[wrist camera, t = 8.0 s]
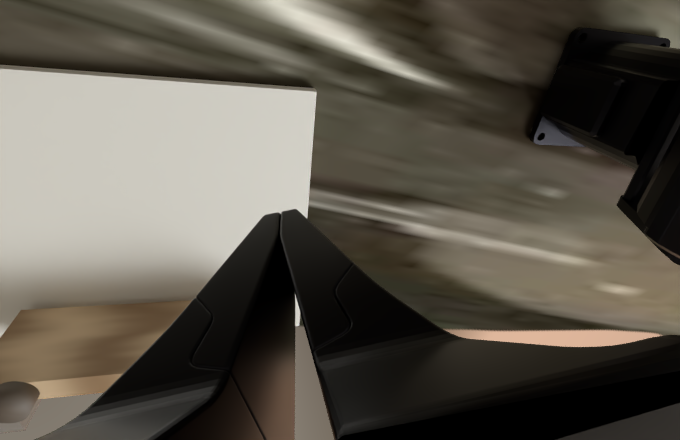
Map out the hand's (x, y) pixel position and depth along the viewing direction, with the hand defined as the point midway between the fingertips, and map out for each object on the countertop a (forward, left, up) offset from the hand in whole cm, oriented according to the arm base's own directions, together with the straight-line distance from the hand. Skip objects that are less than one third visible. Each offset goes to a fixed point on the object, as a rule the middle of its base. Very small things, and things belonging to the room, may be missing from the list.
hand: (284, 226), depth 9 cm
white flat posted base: (+7, +7, -12) cm, 16 cm away
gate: (+7, +13, -10) cm, 18 cm away
